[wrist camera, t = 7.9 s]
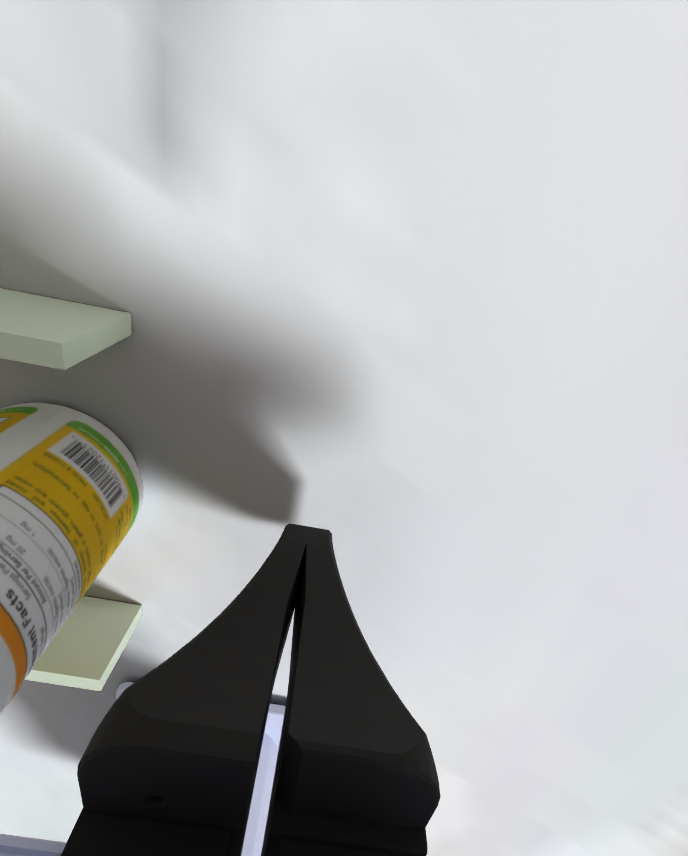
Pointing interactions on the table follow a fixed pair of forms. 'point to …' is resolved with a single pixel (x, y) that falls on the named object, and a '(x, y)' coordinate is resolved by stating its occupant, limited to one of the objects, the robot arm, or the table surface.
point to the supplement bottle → (55, 523)
